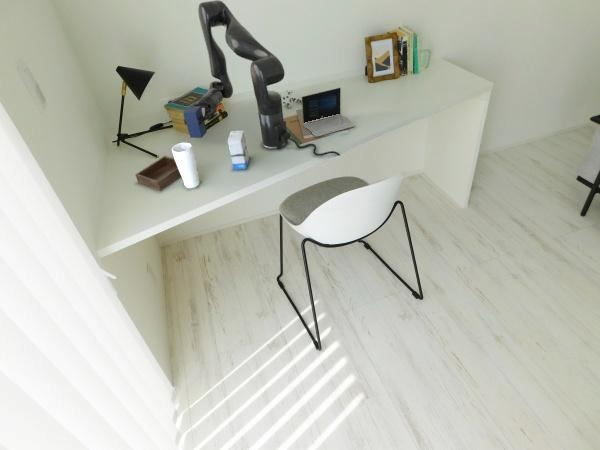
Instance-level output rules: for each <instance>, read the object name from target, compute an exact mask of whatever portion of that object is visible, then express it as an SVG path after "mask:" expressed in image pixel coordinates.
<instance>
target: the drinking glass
mask: <svg viewBox="0 0 600 450" xmlns="http://www.w3.org/2000/svg"><path fill="white" fill-rule="evenodd" d="M171 153H172V156H173V158H174V159H175V162H176V165H177V167H178V169H179V172H180V174H181V177H180V178H181V179H182V182H183V184H184V187H185V188H187V189H194V188H197V187H199V186H200V184H201V182H200V177H199V172H198V166H197V161H196V156H195V151H194V148H193V145H192V144H191V143H189V142H179V143H176V144H175V145H173V146H172V147H171Z"/></svg>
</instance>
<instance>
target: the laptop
mask: <svg viewBox="0 0 600 450" xmlns="http://www.w3.org/2000/svg"><path fill="white" fill-rule="evenodd" d="M301 110H302V111H301V112H302V123H305V122H308V121H312V120H316V119H320V118H324V117H328V116H332V115H336V114H340V115H337V116H333V117H329V118H326V119H322V120H318V121H314V122H310V123H309V122H308V123H307V124H303V128H305V129H306V128H309V130H311V132H312V133H311V132H310V133H311V134H312V136H314V137H316V138H317V137H318V138H319V137H321V136H324V135H328V134H332V133H336V132H339V131H343V130H346V129H350V128H353V127H355V124H353V123H351V122H350V121H349V120H348V119H347V118H345V117H344V116H343V115H341V87H336V88H332V89H328V90H324V91H319V92H315V93H310V94H307V95H303V96H301ZM309 130H308V131H309Z"/></svg>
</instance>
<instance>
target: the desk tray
mask: <svg viewBox="0 0 600 450" xmlns="http://www.w3.org/2000/svg"><path fill="white" fill-rule="evenodd" d="M134 176H135V178H136V180H137V183H138V184H140V185H143V186H145V187H148V188H151V189H154V190H158V191H160V192H161V191H163V190H164V189H166V188H167V187H168V186H170V185H172V184H173V183H174V182H176V181H177V180H178V179H180V178H182V177H181V174H180V172H179V169H178V167H177V165H176V162H175V159H174V157H170V156H168V155H163V156H161V157H160V158H159V159H157V160H155V161H154V162H152V163H151V164H149V165H148V166H146V167H144V168H143V169H142V170H140V171H139V172H136V174H134Z"/></svg>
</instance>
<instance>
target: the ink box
mask: <svg viewBox="0 0 600 450" xmlns="http://www.w3.org/2000/svg"><path fill="white" fill-rule="evenodd" d="M227 145H228V149H229V153H230V157H231V162H232V167H233V170H235V171H237V170H246V169H247V167H248V164H249V161H250V154H249V150H248V145H247V141H246V135H245V130H231V131H230V133H229V135H228V138H227Z"/></svg>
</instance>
